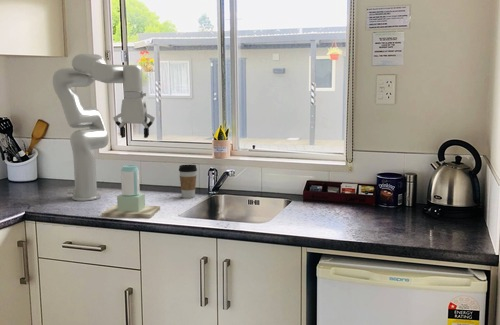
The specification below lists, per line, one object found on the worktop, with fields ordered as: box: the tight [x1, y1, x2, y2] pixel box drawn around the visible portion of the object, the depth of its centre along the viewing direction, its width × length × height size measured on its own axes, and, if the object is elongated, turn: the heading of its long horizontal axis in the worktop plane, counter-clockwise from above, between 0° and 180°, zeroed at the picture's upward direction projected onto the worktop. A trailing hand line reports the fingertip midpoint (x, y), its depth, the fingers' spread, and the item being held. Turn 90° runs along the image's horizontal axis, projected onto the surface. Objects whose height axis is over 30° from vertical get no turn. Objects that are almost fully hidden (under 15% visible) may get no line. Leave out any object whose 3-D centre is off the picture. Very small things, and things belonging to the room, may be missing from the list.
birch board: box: [101, 204, 161, 219], centre depth 224 cm, size 20×14×2 cm
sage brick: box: [116, 192, 146, 212], centre depth 224 cm, size 9×7×6 cm
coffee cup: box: [178, 164, 198, 199], centre depth 254 cm, size 8×8×15 cm
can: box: [120, 164, 141, 196], centre depth 222 cm, size 7×7×12 cm
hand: (134, 137), depth 226 cm, fingers open, 9 cm apart
